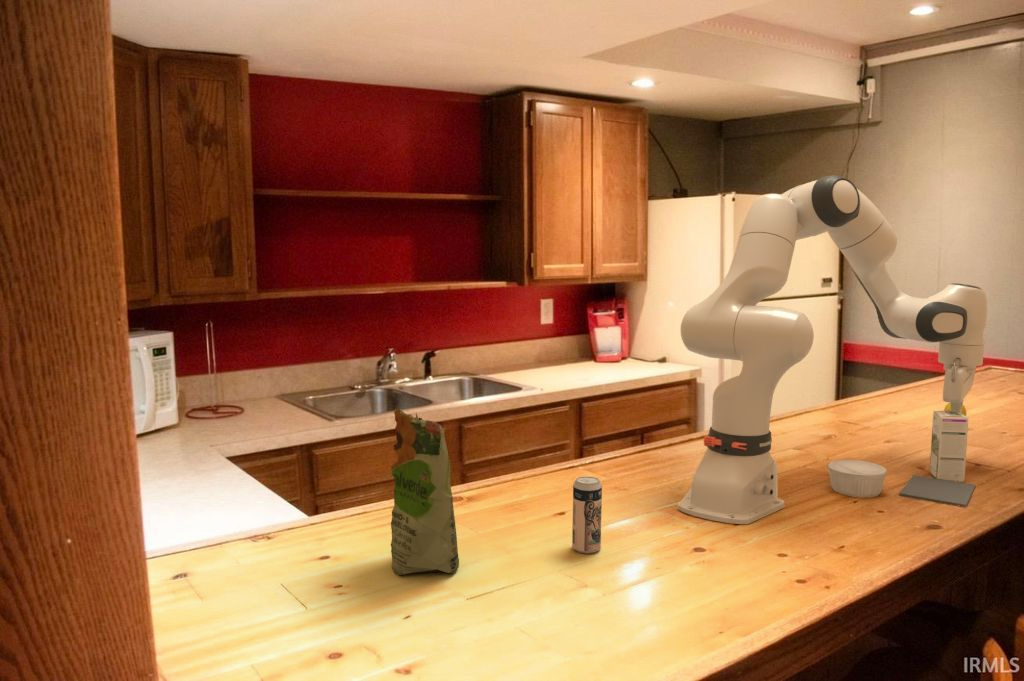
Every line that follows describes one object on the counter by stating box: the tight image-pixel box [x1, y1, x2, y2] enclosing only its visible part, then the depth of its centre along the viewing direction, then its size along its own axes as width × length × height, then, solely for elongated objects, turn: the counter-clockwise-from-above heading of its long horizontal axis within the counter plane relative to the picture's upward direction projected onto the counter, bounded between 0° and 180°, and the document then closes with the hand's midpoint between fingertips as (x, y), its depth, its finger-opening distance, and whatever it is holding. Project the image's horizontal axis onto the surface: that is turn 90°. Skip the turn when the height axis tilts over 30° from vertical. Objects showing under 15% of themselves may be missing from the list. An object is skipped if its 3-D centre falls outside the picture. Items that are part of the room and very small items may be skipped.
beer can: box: [571, 475, 603, 555], centre depth 133 cm, size 5×5×12 cm
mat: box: [898, 474, 976, 507], centre depth 167 cm, size 16×12×1 cm
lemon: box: [943, 402, 967, 416], centre depth 222 cm, size 6×6×8 cm
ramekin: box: [827, 459, 888, 498], centre depth 166 cm, size 11×11×5 cm
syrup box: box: [929, 410, 969, 483], centre depth 175 cm, size 6×6×14 cm
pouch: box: [390, 407, 460, 576], centre depth 124 cm, size 11×12×25 cm
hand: (955, 416), depth 182 cm, fingers closed
